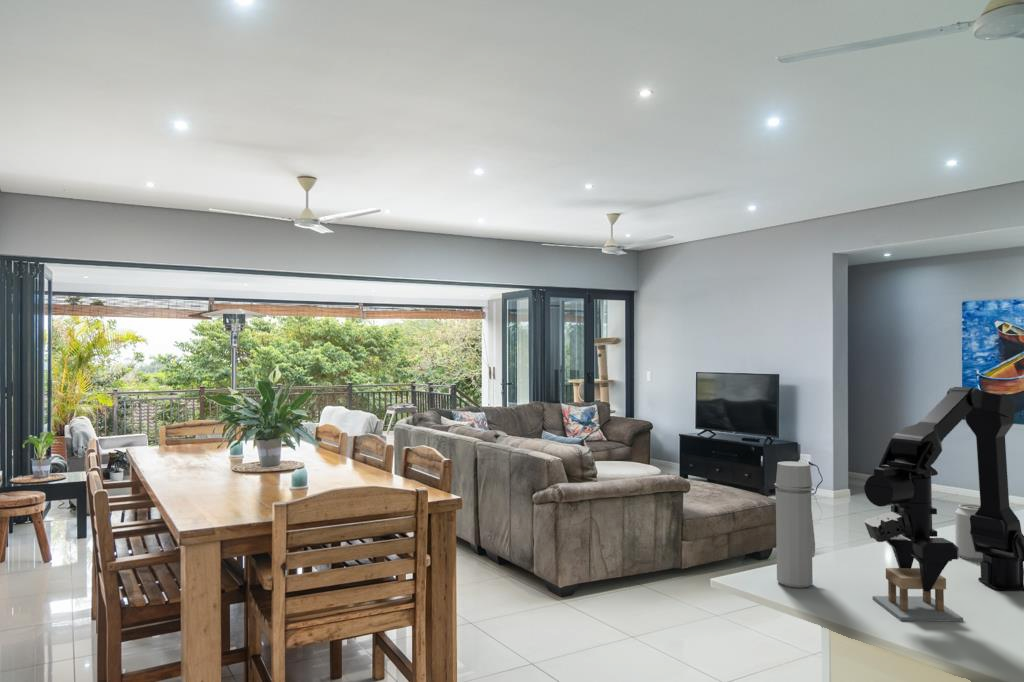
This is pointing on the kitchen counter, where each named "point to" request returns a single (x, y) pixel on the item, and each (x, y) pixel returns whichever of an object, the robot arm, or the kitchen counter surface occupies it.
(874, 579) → the kitchen counter surface
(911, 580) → the stool
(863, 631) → the kitchen counter surface
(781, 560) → the water bottle
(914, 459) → the robot arm
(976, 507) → the can
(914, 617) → the gray panel
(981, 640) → the kitchen counter surface
